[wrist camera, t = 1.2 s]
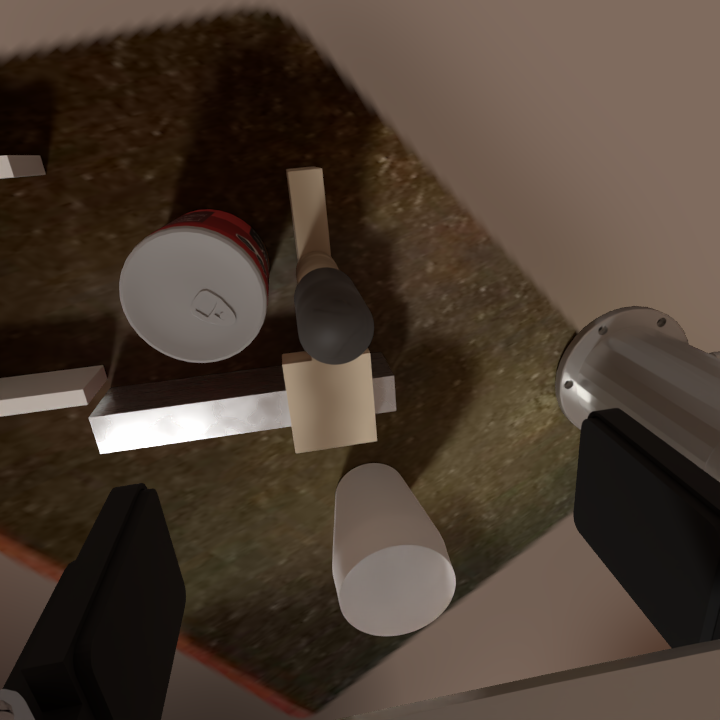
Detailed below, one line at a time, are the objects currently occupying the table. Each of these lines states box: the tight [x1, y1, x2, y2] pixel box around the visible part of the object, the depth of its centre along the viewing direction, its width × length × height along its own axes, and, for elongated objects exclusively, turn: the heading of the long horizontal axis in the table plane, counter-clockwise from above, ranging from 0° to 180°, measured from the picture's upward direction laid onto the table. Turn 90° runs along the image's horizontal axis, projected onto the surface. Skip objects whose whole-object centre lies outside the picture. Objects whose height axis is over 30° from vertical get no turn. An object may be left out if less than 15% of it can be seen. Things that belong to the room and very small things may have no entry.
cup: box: [332, 463, 456, 636], centre depth 42 cm, size 9×9×12 cm
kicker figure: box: [282, 166, 377, 453], centre depth 31 cm, size 6×19×18 cm, turn 5°
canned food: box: [119, 209, 270, 363], centre depth 33 cm, size 8×8×11 cm
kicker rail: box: [89, 352, 396, 454], centre depth 40 cm, size 22×3×5 cm, turn 95°
